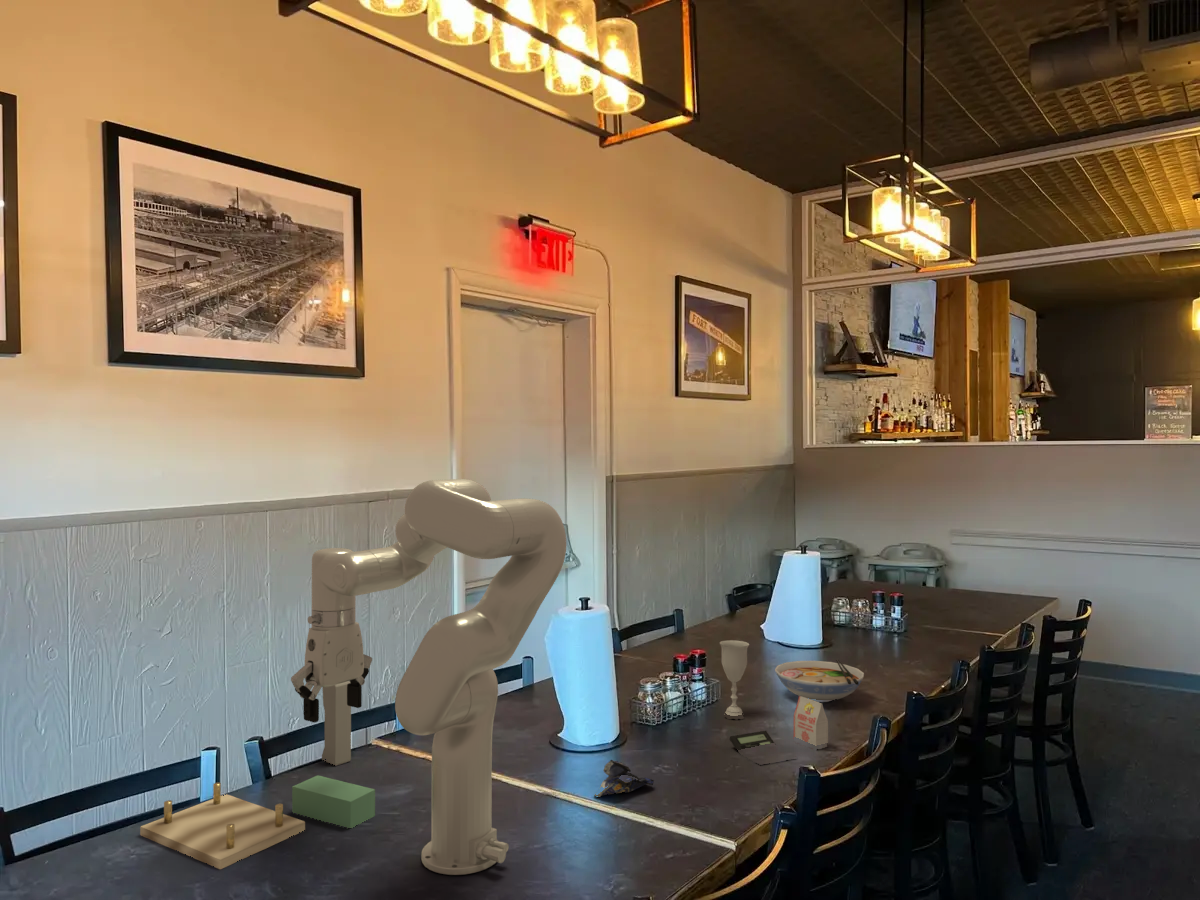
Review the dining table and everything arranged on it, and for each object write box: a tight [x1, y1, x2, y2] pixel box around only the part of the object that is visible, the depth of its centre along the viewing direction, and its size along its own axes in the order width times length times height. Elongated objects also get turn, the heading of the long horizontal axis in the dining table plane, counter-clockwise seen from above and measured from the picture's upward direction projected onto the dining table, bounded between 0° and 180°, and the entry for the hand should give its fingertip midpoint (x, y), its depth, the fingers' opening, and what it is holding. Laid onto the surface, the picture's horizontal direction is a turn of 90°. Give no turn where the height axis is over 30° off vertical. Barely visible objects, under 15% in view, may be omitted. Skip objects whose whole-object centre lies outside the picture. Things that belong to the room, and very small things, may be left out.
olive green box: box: [291, 775, 376, 829], centre depth 152 cm, size 14×6×5 cm, turn 62°
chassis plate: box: [139, 782, 306, 870], centre depth 144 cm, size 22×16×5 cm
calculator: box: [729, 730, 775, 750], centre depth 183 cm, size 9×12×3 cm
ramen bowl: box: [774, 659, 865, 701], centre depth 223 cm, size 25×23×8 cm
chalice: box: [719, 639, 750, 716], centre depth 208 cm, size 7×7×18 cm
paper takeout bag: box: [793, 696, 829, 746], centre depth 189 cm, size 4×7×10 cm, turn 32°
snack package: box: [593, 759, 655, 798], centre depth 164 cm, size 12×6×12 cm
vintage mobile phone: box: [321, 681, 352, 767], centre depth 178 cm, size 4×5×25 cm
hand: (333, 713), depth 152 cm, fingers open, 9 cm apart
